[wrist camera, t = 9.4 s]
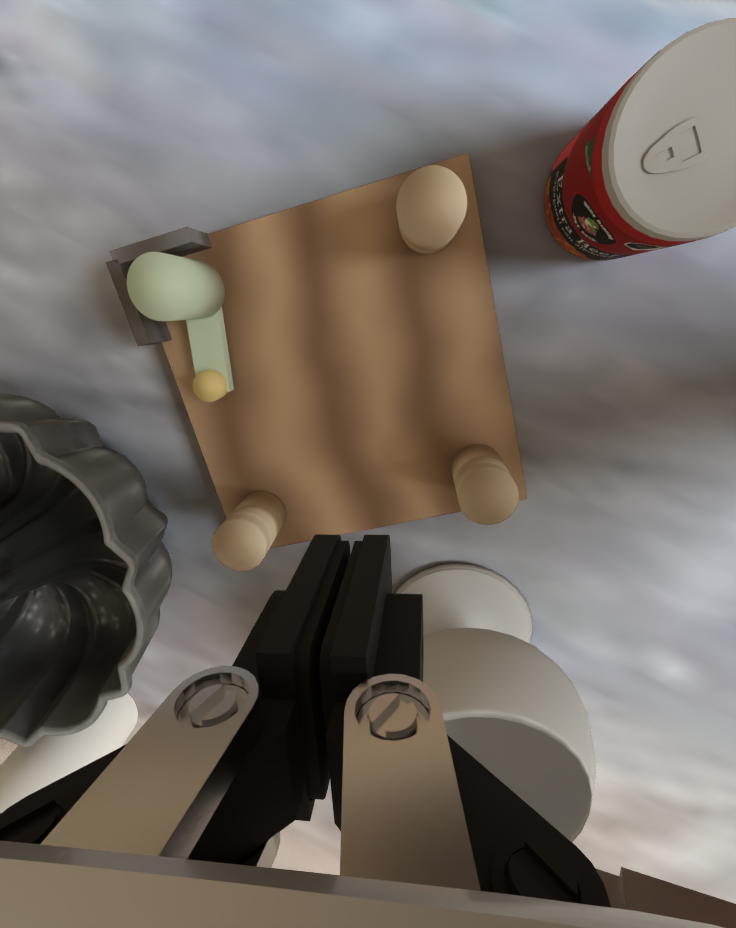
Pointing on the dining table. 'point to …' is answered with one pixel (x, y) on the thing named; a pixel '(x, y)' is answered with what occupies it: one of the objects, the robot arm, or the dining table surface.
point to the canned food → (654, 155)
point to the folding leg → (187, 312)
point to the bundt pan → (71, 572)
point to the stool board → (349, 365)
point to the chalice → (505, 692)
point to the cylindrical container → (65, 752)
